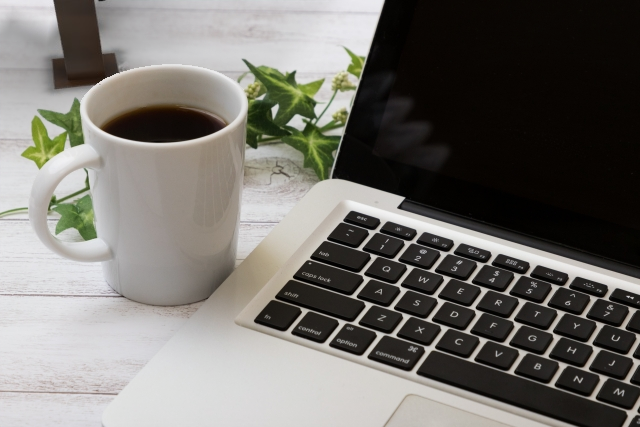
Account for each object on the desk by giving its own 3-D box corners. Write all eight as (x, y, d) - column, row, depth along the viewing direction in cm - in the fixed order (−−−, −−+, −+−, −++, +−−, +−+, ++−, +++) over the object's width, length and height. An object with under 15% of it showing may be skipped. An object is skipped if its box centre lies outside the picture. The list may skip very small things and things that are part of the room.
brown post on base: (52, 53, 90) (20, -108, 79) (112, 47, 92) (90, -111, 81) (57, 113, 80) (21, -62, 69) (125, 105, 82) (102, -67, 70)
